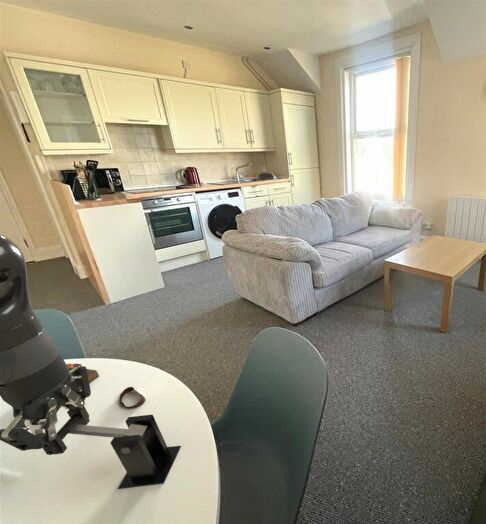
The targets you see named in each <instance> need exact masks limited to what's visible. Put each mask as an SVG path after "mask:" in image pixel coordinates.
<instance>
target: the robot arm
mask: <svg viewBox="0 0 486 524" xmlns="http://www.w3.org/2000/svg"><path fill="white" fill-rule="evenodd" d="M66 364H67V362H66V361H65V359H64V357H63V356H62V354H61V352H60V351H59V349H58V346H57V344H56V343H55V341H54V340H53V338H52V336H51V335H50V334H49V333H48V332H47V331H46V330H45V328H44V326H43V324H42V322H41V321H40V318H39V316H38V315H37V314H36V312H35V310H34V309H33V306H32V303H31V297H30V290H29V284H28V272H27V263H26V258H25V256H24V253H23V251H22V250H21V248H20V246H19V245H18V244H17V243H16V242H14V240H12V239H10V238H9V237H7V236H5V235H4V234H1V233H0V398H1V400H2V401H3V402H4V403H6V404H7V405H9V406H10V407H11V408H12V416H13V419H12V421H11V422H10V423H9V425H8V426H7V427H6V428H2V429H0V441H1V442H3V443H5V444H7V445H8V446H12V447H14V448H16V449H17V450H19V451H22V452H25V451H31V450H41V449H42V450H43V451H44V452H45V454H46V455H48V456H53V455H54V456H55V455H62V454H64V453H65V452H66V450H67V449H68V447H67V445H66V443H65V442H64V439H63V440H62V439H61V437H60V436H59V435H57V434H56V433H57V429H56V424H58V422H59V421H58V415H57V413H58V412H59V411H60V409H61V408H63V409H65V410H67V411H66V413H67V415H68V417H69V419H70V418H71V417H72V416H73V415H75V414H77V415H80V416H81V419H80V420H79V422H78V423H77V425H88V424H89V423H90V420H91V419H90V414H89V411H88V410H87V409H86V406H85V405H86V401H85V400H86V399H87V398H89V397H90V396H91V394H92V390H91V385H90V384H89V379H88V374H87V369H88V368H87V367H86V366H85V365H84V366H83V365H82V367H71V368H68V366H67V365H66ZM79 386H80V387H81V389H82V390H81V391H79ZM25 423H26V424H25Z"/></svg>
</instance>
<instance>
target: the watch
mask: <svg viewBox="0 0 486 524" xmlns="http://www.w3.org/2000/svg"><path fill="white" fill-rule="evenodd" d="M131 392H136V393H138V394H139V395H140V396H141V398H140V400H139V401H138V402H137V403H136V404H134V405H130V406H126V405H125V403H124V402H123V398H124V396H126V395H127V394H128V393H131ZM145 396H146V394H144V392H142V391H141V390H140V389H139V388H137V387H136V386H135V387H134V386H128V387H126V388H125V389H123V390H122V392H121V393H120V395H119V398H118V400H119V404H120V406H122V407H123V408H126V409H130V410H133V409H137V408H140V407H141V406H143V405H144V404H145V402H146V397H145Z"/></svg>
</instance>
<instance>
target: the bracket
mask: <svg viewBox="0 0 486 524" xmlns="http://www.w3.org/2000/svg"><path fill="white" fill-rule="evenodd" d="M131 424H136V425H146V426H147V436H146V437H145V439H144V441H143V440H142V438H141V436H140V435H132V436H123V437H114V438H113V437H112V439H111V441H110V445H111V447H112V449H113V450H114V452H115V454H116V456H117V458H118V460H119V461H120V463H121V464H122V466H123V469H124V470H125V472H126V474H125V475H124V477H123V479H122V480H121V482H120V484H119V485H118V487H117V489H118V490H122V489H131V488H140V487H148V486H155V485H157V486H158V485H164V484H165V482H166V480H167V478H168V476H169V474H170V471H171V469H172V467H173V465H174V463H175V461H176V458H177V457H178V454H179V453H180V450H181V448H182V445H174V446H168V445H167V443H166V441H165V439H164V437H163V434H162V432H161V429H160V428H159V425H158V423H157V421H156V418H155V417H154V414H144V415H136V416H135V415H134V416H128V417H127V418H126V420H125V425H126V426H127V429H128V428H129V426H130V425H131Z"/></svg>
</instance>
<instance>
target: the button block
mask: <svg viewBox="0 0 486 524" xmlns="http://www.w3.org/2000/svg"><path fill="white" fill-rule="evenodd" d="M71 364H72V365H73V367H83V365H82V364H81V363H71ZM86 369H87V374H88V379H89V385H90V384H91V383H92V382H94V381H95V380H97V379H98V378H100V374H99V372H98V370H96V369H90V368H86ZM79 391H82V389H81V387H80V386H79Z"/></svg>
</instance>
